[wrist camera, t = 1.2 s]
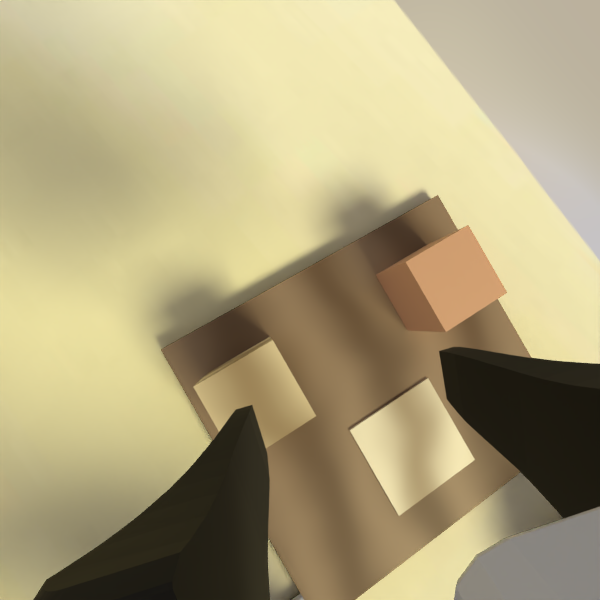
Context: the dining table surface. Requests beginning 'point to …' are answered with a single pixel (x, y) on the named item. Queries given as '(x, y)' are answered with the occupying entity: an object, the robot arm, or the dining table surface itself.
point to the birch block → (256, 392)
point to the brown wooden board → (360, 412)
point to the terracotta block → (442, 283)
